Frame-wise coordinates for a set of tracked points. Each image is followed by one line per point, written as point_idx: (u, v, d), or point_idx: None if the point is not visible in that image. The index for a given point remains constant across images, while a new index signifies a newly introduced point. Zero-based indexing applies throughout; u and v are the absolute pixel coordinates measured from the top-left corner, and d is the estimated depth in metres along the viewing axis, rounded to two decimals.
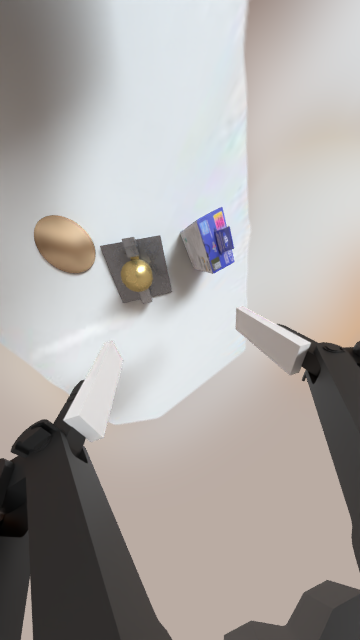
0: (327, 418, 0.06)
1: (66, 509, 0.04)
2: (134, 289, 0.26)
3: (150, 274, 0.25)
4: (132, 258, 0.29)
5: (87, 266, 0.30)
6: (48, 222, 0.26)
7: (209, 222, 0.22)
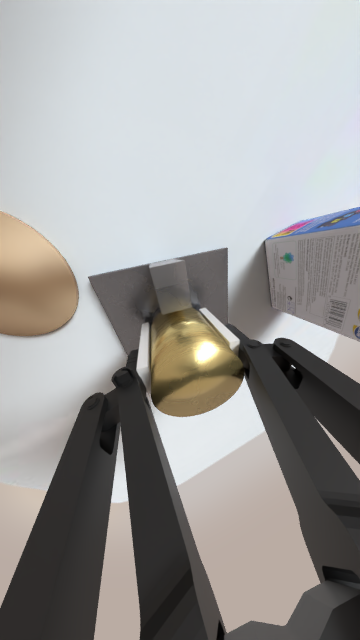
0: (262, 410, 0.07)
1: (144, 435, 0.05)
2: (185, 413, 0.09)
3: (239, 376, 0.08)
4: None
5: (61, 320, 0.13)
6: None
7: None
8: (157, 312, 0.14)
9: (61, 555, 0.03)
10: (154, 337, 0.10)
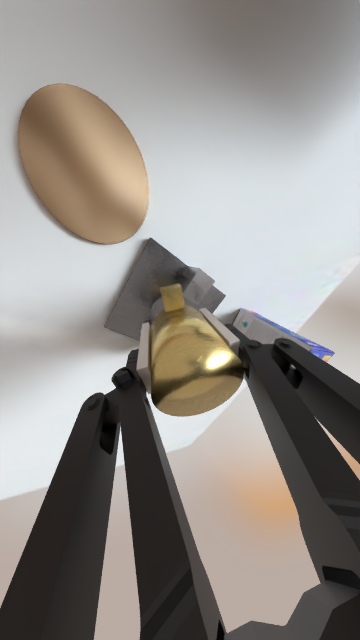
0: (262, 410, 0.07)
1: (144, 435, 0.05)
2: (185, 413, 0.09)
3: (238, 376, 0.08)
4: (169, 308, 0.11)
5: (98, 238, 0.15)
6: (99, 114, 0.11)
7: None
8: None
9: (61, 555, 0.03)
10: (154, 337, 0.10)
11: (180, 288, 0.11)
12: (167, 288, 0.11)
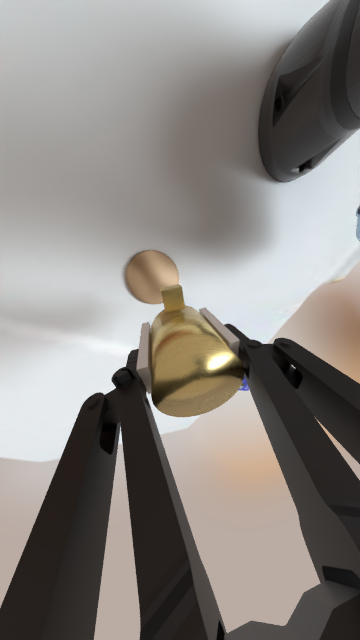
0: (262, 410, 0.07)
1: (144, 435, 0.05)
2: (185, 414, 0.09)
3: (239, 377, 0.08)
4: (169, 308, 0.11)
5: (152, 302, 0.29)
6: (161, 257, 0.26)
7: None
8: None
9: (61, 555, 0.03)
10: (154, 337, 0.10)
11: (180, 288, 0.11)
12: (167, 288, 0.11)
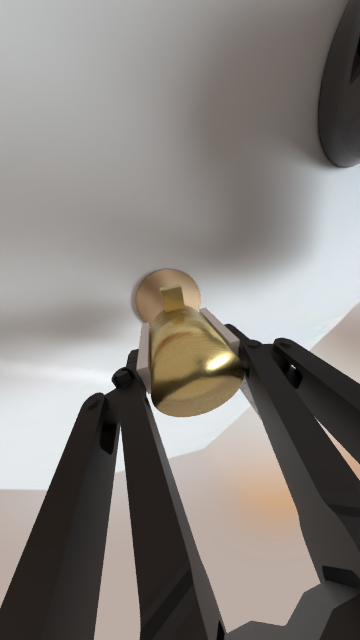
0: (262, 410, 0.07)
1: (144, 435, 0.05)
2: (185, 414, 0.09)
3: (239, 376, 0.08)
4: (169, 308, 0.11)
5: None
6: (179, 277, 0.20)
7: None
8: None
9: (61, 555, 0.03)
10: (154, 337, 0.10)
11: (180, 288, 0.11)
12: (167, 288, 0.11)
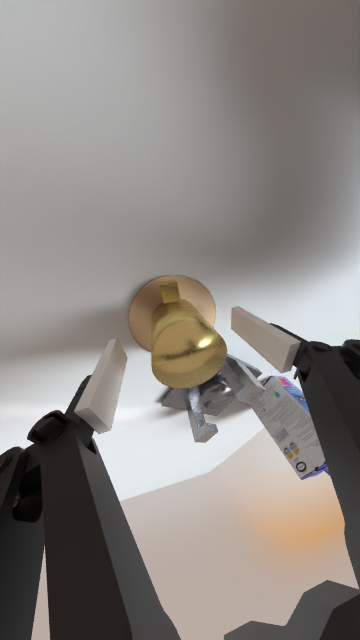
0: (318, 416, 0.06)
1: (77, 496, 0.04)
2: (179, 385, 0.11)
3: (222, 353, 0.10)
4: (167, 300, 0.13)
5: None
6: (189, 286, 0.14)
7: None
8: (217, 382, 0.21)
9: None
10: (154, 324, 0.12)
11: (176, 283, 0.13)
12: (165, 283, 0.13)
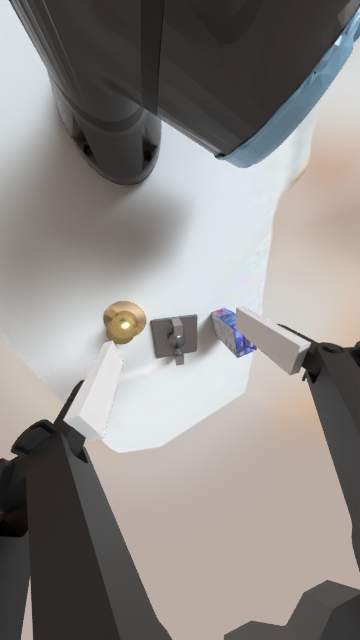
0: (327, 418, 0.06)
1: (66, 509, 0.04)
2: (126, 341, 0.31)
3: (127, 325, 0.29)
4: (112, 316, 0.33)
5: (137, 333, 0.38)
6: (118, 306, 0.33)
7: None
8: (170, 334, 0.39)
9: None
10: None
11: (109, 309, 0.32)
12: (107, 312, 0.33)
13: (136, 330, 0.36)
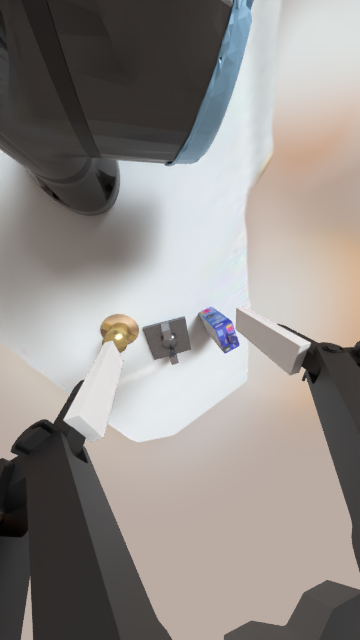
0: (327, 418, 0.06)
1: (66, 509, 0.04)
2: (121, 350, 0.35)
3: (119, 337, 0.33)
4: (107, 329, 0.38)
5: None
6: (110, 319, 0.38)
7: (223, 330, 0.33)
8: (163, 337, 0.43)
9: None
10: None
11: (104, 324, 0.37)
12: (102, 326, 0.37)
13: (131, 338, 0.40)
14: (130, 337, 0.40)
